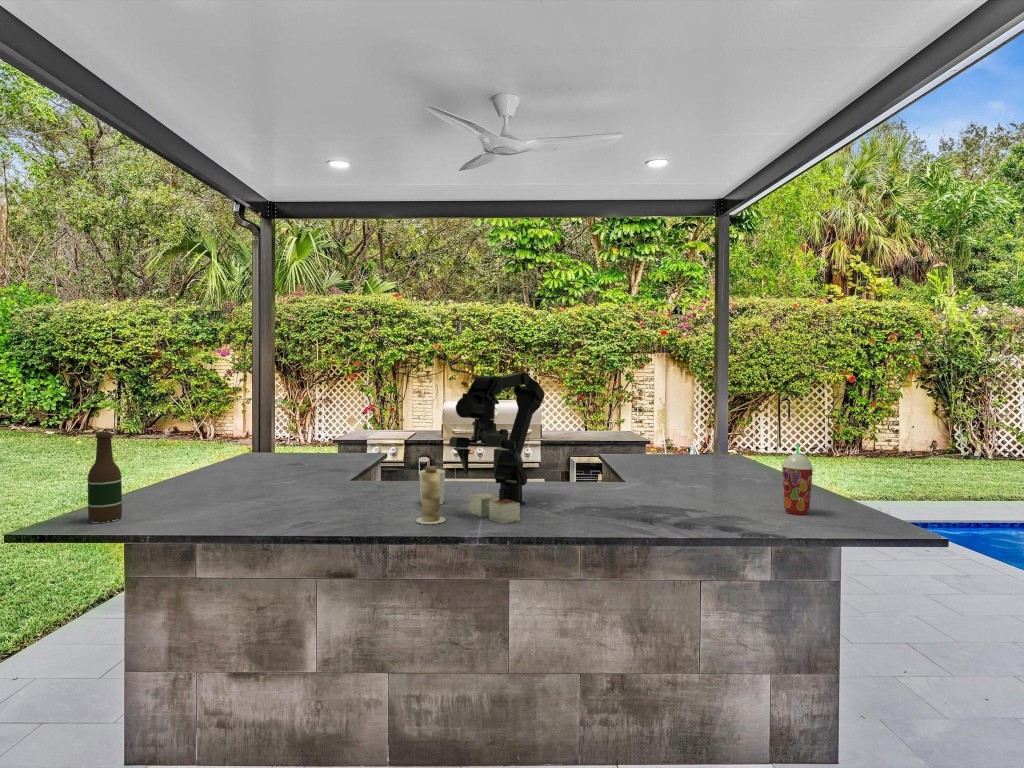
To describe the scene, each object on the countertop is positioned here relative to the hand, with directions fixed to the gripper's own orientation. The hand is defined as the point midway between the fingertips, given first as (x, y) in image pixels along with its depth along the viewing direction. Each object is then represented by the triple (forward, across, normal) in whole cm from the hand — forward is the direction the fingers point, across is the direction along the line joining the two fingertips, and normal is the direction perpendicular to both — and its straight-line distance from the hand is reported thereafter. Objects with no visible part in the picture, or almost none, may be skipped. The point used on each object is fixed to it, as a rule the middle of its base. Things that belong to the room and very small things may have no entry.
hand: (480, 473), depth 179 cm
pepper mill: (+13, -15, -1) cm, 19 cm away
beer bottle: (+18, -93, +40) cm, 103 cm away
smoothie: (+6, +84, -40) cm, 93 cm away
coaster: (+13, -15, -1) cm, 20 cm away
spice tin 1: (+12, +2, +1) cm, 12 cm away
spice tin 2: (+12, +4, -9) cm, 15 cm away
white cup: (+12, -7, +20) cm, 24 cm away
